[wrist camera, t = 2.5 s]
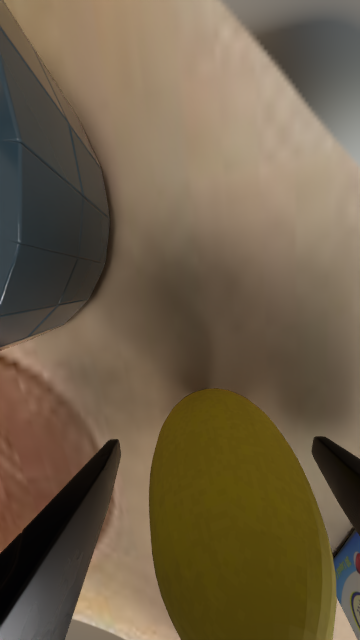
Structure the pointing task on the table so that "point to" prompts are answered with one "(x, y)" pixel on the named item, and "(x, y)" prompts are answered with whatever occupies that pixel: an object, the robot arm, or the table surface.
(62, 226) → the bowl
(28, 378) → the table surface
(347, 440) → the table surface
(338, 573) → the medicine box
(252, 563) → the lemon
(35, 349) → the table surface
